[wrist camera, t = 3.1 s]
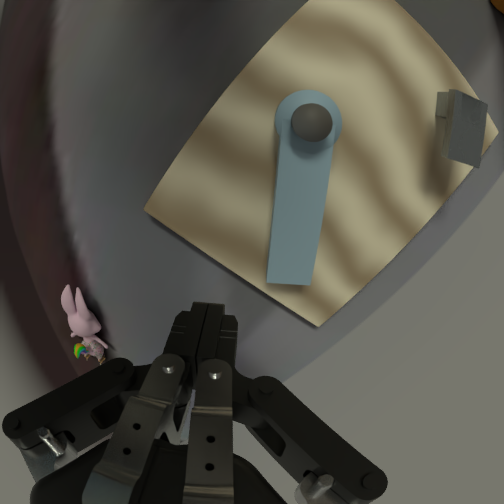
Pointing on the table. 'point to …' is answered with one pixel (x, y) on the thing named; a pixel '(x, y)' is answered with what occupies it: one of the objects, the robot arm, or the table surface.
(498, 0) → the coffee package
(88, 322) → the rabbit figure
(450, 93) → the block
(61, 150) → the table surface
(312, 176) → the link
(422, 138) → the pivot board
